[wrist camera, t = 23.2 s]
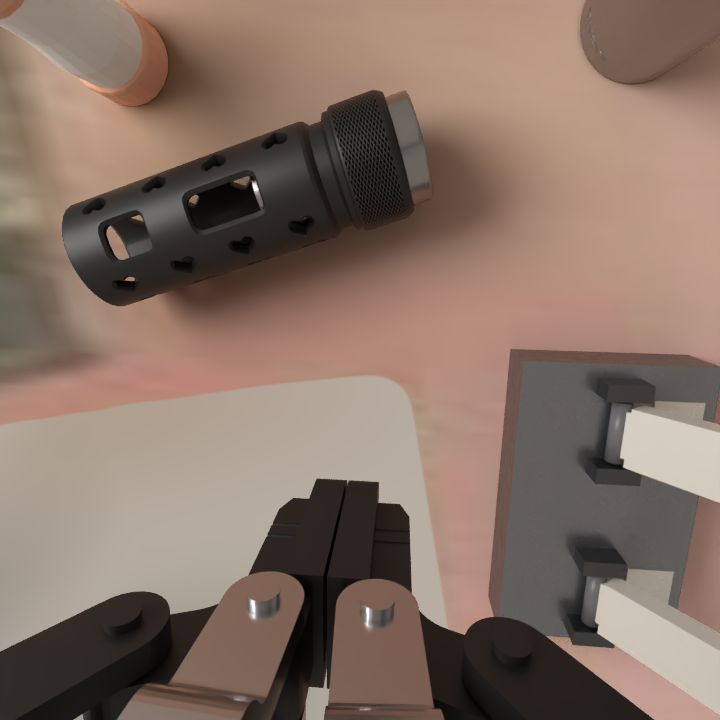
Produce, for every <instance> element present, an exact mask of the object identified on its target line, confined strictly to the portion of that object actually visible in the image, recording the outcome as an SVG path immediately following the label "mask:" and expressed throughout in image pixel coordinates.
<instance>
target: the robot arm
mask: <svg viewBox="0 0 720 720" xmlns="http://www.w3.org/2000/svg"><path fill="white" fill-rule="evenodd" d="M580 24H581V40H582V45H583V49H584V51H585V54H586V56H587V58H588V60H589V61H590V63H591V64H592V65H593V67H594V68H595V69H596V70H597V71H598V72H600V73H601V74H602V75H603V76H605V77H607V78H609V79H611V80H613V81H616V82H621V83H626V84H632V83H642V82H646V81H650V80H653V79H655V78H657V77H659V76H661V75H663V74H665V73H666V72H668V71H669V70H671V69H672V68H674V67H675V66H677V65H678V64H680V63H681V62H683V61H684V60H686V59H687V58H689V57H690V56H692V55H693V54H695V53H696V52H698V51H699V50H701V49H702V48H704V47H705V46H707V45H708V44H710V43H711V42H713V41H714V40H716V39H717V38H719V37H720V0H586V3H585V5H584V8H583V12H582V17H581V23H580ZM378 498H379V482H367V481H349V482H348V486H347V480H332V479H331V480H330V479H317V480H316V482H315V485H314V487H313V490H312V493H311V495H310V498H309V499H301V498H293V499H292V500H290V501H289V502H288V503H286V504H285V505H284V506H283V507H282V508H280V509H279V511H278V513H277V515H276V517H275V519H274V522H273V525H272V526H271V528H270V531H269V532H268V536H267V537H266V539H265V541H264V543H263V545H262V547H261V549H260V551H259V554H258V556H257V558H256V560H255V562H254V564H253V566H252V569H251V571H250V573H249V575H248V576H246V577H244V578H242V579H240V580H238V581H237V582H235V583H234V584H233V585H232V586H231V587H230V588H229V589H228V590H227V591H226V593H225V594H224V596H223V598H222V599H221V601H220V602H219V604H217V605H214V606H211V607H208V608H205V609H200V610H195V611H189V612H183V613H177V614H171V615H170V609H169V605H168V603H167V601H166V600H165V599H164V598H163V597H162V596H159V595H158V594H155V593H151V592H130V593H126V594H121V595H118V596H115V597H113V598H110V599H108V600H106V601H104V602H102V603H100V604H98V605H95V606H94V607H91V608H89V609H87V610H85V611H83V612H81V613H79V614H77V615H75V616H73V617H71V618H69V619H67V620H65V621H62V622H60V623H58V624H56V625H54V626H52V627H50V628H48V629H46V630H44V631H42V632H40V633H38V634H36V635H34V636H32V637H30V638H27V639H25V640H23V641H21V642H19V643H17V644H15V645H13V646H11V647H9V648H7V649H5V650H3V651H1V652H0V720H73V719H75V718H77V717H78V716H80V715H81V714H83V719H84V720H306V708H305V707H306V705H305V704H306V698H307V693H308V688H309V687H319V688H323V687H324V681H325V676H326V670H327V688H328V689H330V690H329V701H328V706H326V709H325V715H324V720H654V719H652V718H651V717H650V716H649V715H647V714H646V713H645V712H643V711H642V710H641V709H639V708H638V707H637V706H636V705H634V704H633V703H632V702H630V701H629V700H628V699H626V698H625V697H624V696H623V695H621V694H620V693H619V692H617V691H616V690H615V689H613V688H612V687H611V686H610V685H608V684H607V683H606V682H604V681H603V680H602V679H600V678H599V677H598V676H597V675H595V674H594V673H593V672H591V671H590V670H589V669H588V668H586V667H585V666H584V665H582V664H581V663H580V662H578V661H577V660H576V659H575V658H573V657H572V656H571V655H569V654H568V653H567V652H565V651H564V650H563V649H562V648H560V647H559V646H558V645H556V644H555V643H554V642H552V641H551V640H550V639H549V638H547V637H546V636H545V635H543V634H542V633H541V632H539V631H538V630H536V629H535V628H534V627H532V626H530V625H528V624H526V623H524V622H521V621H519V620H515V619H511V618H506V617H489V618H485V619H481V620H479V621H477V622H475V623H474V624H473V625H471V627H470V628H469V629H468V630H467V632H466V634H465V635H463V634H460V633H457V632H454V631H451V630H448V629H446V628H443V627H440V626H439V625H437V624H435V623H433V622H431V621H430V620H429V619H427V618H426V617H425V616H424V615H423V614H422V613H421V612H420V611H419V607H418V604H417V601H416V599H415V597H414V596H413V595H412V589H411V561H410V560H411V557H410V530H409V529H410V527H409V516H408V515H407V513H406V512H405V511H404V509H403V508H402V507H401V505H400V504H386V503H378Z"/></svg>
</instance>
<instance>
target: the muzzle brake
mask: <svg viewBox="0 0 720 720" xmlns="http://www.w3.org/2000/svg"><path fill="white" fill-rule="evenodd" d="M246 176H250V180H249V182H248V184H247V186H243V185H241V184H238V183H235V182H233V181H235V180H237V179H240V178H243V177H246ZM194 195H198V196H199V197H198V199H197V202H196V204H193V203H191V202H188V201H189V199H190V198H191V197H192V196H194ZM432 197H433V186H432V179H431V174H430V168H429V164H428V159H427V154H426V150H425V146H424V142H423V138H422V134H421V130H420V127H419V123H418V120H417V117H416V113H415V110H414V107H413V105H412V102H411V99H410V97H409V95H408V94H407V92H406V91H401V92H399V93H396V94H393V95H390V96H388V97H384V94H383V92H381V91H377V90H371V91H369V92H366V93H363V94H360V95H358V96H355V97H352V98H350V99H347V100H344V101H341V102H339V103H336V104H333V105H331V106H329V107H328V109H327V111H325V112H323V113H322V116H321V121H320V122H318V123H315V124H312V125H310V126H309V125H307V124H305V123H304V122H297V123H294V124H291V125H289V126H286V127H283V128H281V129H278V130H275V131H272V132H270V133H267V134H264V135H262V136H259V137H256V138H253V139H251V140H248V141H245V142H243V143H240V144H237V145H234V146H232V147H229V148H226V149H224V150H221V151H218V152H215V153H213V154H210V155H207V156H205V157H202V158H199V159H196V160H194V161H191V162H188V163H186V164H183V165H180V166H177V167H175V168H172V169H169V170H167V171H164V172H161V173H158V174H156V175H153V176H150V177H147V178H145V179H142V180H139V181H137V182H134V183H131V184H128V185H126V186H123V187H120V188H118V189H115V190H112V191H109V192H107V193H104V194H101V195H99V196H96V197H93V198H90V199H88V200H85V201H82V202H80V203H77V204H74V205H72V206H70V207H69V208H68V209H67V210H66V212H65V214H64V216H63V222H62V236H63V241H64V246H65V249H66V251H67V254H68V257H69V259H70V261H71V263H72V265H73V267H74V269H75V271H76V272H77V274H78V275H79V277H80V278H81V280H82V281H83V282H84V283H85V285H86V286H87V287H88V288H89V289H90V290H91V291H92V292H93V293H94V294H95V295H97V296H98V297H99V298H101V299H102V300H103V301H105V302H107V303H109V304H112V305H115V306H126V305H129V304H132V303H135V302H138V301H141V300H144V299H147V298H150V297H153V296H155V295H157V294H162V293H166V292H169V291H172V290H175V289H178V288H181V287H184V286H187V285H190V284H193V283H196V282H199V281H202V280H205V279H208V278H210V277H214V276H217V275H221V274H224V273H227V272H230V271H233V270H236V269H239V268H242V267H245V266H248V265H251V264H254V263H257V262H260V261H262V260H266V259H269V258H272V257H276V256H279V255H282V254H285V253H288V252H291V251H294V250H297V249H300V248H303V247H306V246H309V245H312V244H314V243H316V242H321V241H324V240H327V239H330V238H334V237H336V236H338V235H339V234H340V232H341V230H342V228H344V227H347V226H350V225H353V224H354V226H355V227H356V228H357V229H358V230H359V229H363V228H364V229H365V230H370V229H373V228H376V227H379V226H382V225H385V224H388V223H391V222H394V221H397V220H400V219H404V218H407V217H408V216H410V214H411V213H412V212H413V211H414V205H415V204H418V203H421V202H424V201H427V200H430V199H432ZM137 215H140V216H141V217H142V218H143V220H144V222H142V221H139V220H136V219H133V218H131V217H134V216H137ZM110 225H111V226H112V228H113V229H114V230H115V231H116V233H117V234H118V235H119V237H120V238H121V240H122V242H123V243H124V245H125V247H126V250H127V252H128V255H129V257H130V258H128V259H125V260H119V259H118V258H117V257H116V256H115V255H114V253H113V251H112V249H111V246H110V244H109V241H108V238H107V235H106V231H107V229H108V227H109V226H110ZM127 277H134V278H135V281H123V280H125V279H126V278H127Z"/></svg>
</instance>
